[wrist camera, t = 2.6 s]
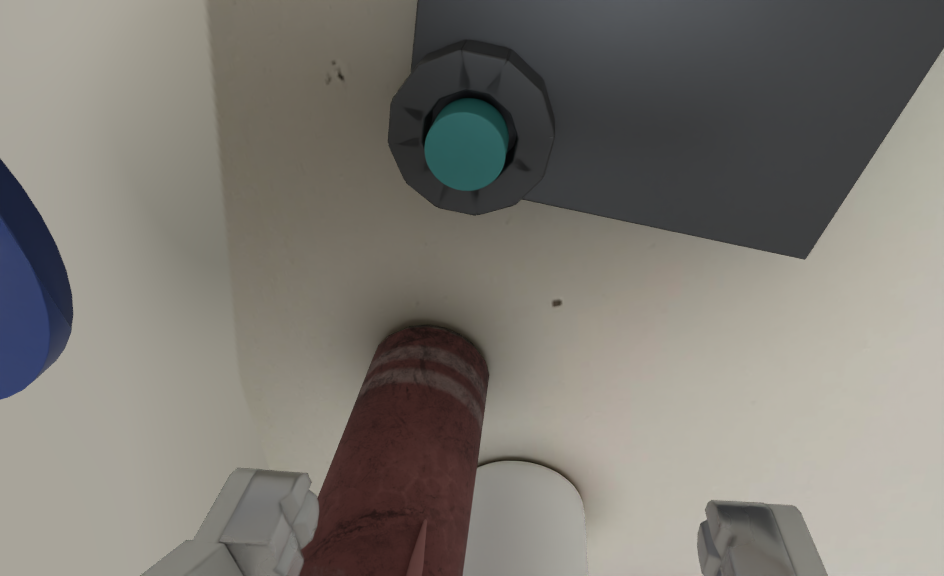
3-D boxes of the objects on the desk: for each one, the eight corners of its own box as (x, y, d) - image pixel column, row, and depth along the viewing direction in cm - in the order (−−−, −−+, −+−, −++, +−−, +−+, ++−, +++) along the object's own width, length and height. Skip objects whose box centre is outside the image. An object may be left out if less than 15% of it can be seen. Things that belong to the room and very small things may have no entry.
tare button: (428, 164, 19) (419, 182, 18) (438, 89, 17) (429, 104, 16) (500, 179, 19) (496, 198, 18) (516, 106, 17) (513, 121, 16)
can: (512, 346, 27) (483, 667, 15) (461, 418, 30) (409, 722, 19) (400, 298, 26) (282, 602, 14) (362, 379, 29) (244, 673, 18)
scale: (401, 164, 22) (382, 196, 19) (452, -360, 13) (431, -420, 11) (789, 247, 22) (819, 289, 19) (1082, -225, 13) (1200, -255, 11)
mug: (389, 501, 36) (340, 679, 28) (409, 425, 31) (357, 613, 23) (558, 544, 37) (560, 732, 28) (604, 476, 32) (623, 678, 23)
